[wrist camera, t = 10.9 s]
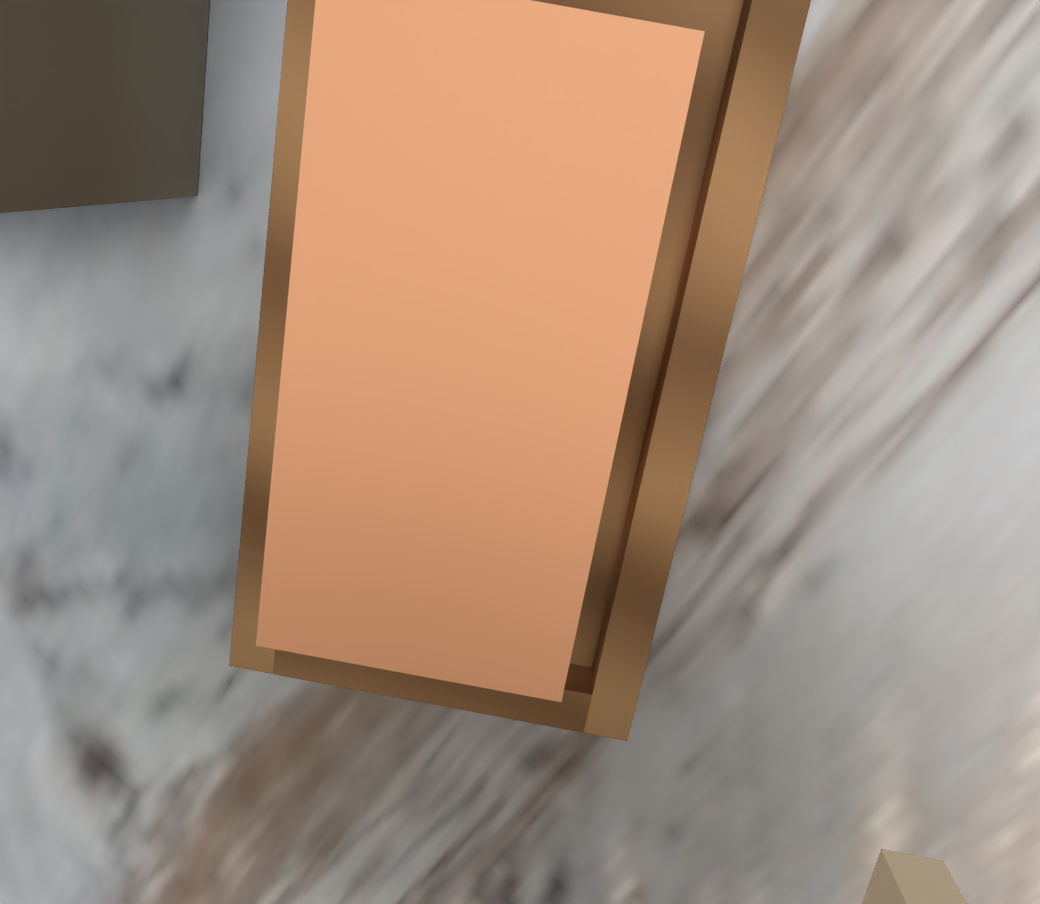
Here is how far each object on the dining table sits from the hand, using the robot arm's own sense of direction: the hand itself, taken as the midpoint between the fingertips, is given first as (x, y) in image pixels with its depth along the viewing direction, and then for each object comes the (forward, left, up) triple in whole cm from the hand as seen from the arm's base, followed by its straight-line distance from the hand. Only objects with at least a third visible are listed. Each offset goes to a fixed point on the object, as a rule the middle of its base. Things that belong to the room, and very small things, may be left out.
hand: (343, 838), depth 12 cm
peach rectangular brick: (+5, 0, -14) cm, 14 cm away
